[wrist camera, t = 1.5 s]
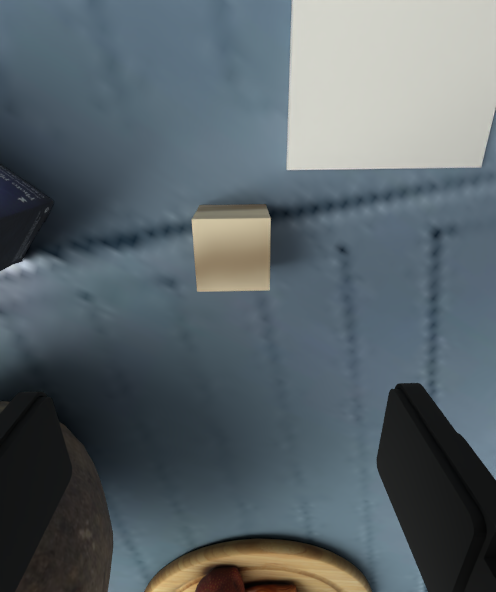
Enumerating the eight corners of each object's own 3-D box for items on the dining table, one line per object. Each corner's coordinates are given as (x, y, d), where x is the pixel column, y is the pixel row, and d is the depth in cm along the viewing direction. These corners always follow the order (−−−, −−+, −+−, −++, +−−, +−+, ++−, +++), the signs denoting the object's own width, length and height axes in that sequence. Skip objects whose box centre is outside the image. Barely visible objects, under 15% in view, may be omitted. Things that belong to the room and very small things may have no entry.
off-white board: (294, -91, 20) (296, -98, 20) (537, -92, 20) (545, -98, 20) (286, 169, 26) (287, 170, 26) (475, 166, 26) (480, 167, 26)
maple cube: (199, 205, 27) (191, 219, 23) (265, 204, 27) (270, 218, 23) (203, 267, 29) (197, 291, 25) (264, 266, 29) (269, 290, 25)
